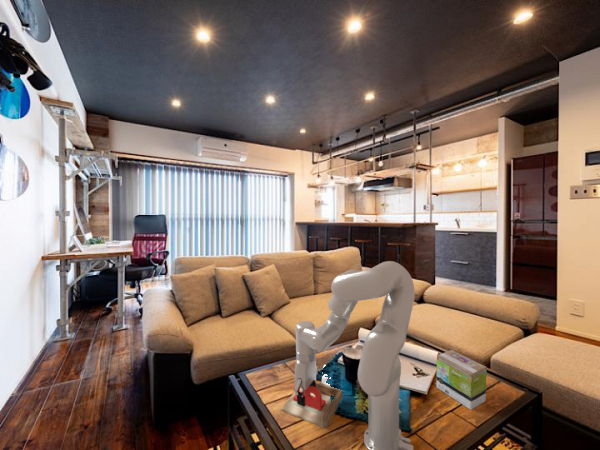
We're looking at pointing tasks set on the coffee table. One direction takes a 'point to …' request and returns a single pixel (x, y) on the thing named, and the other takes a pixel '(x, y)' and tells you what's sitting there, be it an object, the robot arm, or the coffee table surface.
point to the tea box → (461, 378)
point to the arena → (315, 415)
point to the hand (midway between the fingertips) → (306, 397)
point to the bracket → (313, 398)
